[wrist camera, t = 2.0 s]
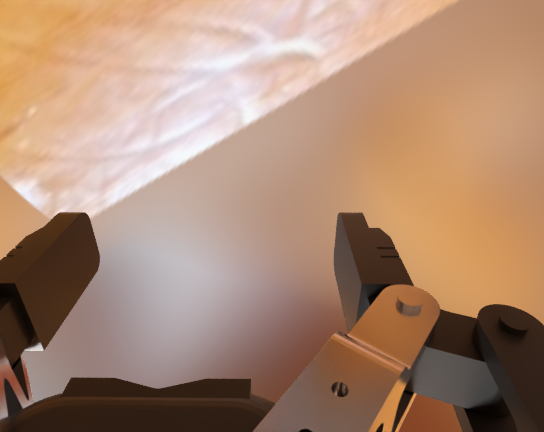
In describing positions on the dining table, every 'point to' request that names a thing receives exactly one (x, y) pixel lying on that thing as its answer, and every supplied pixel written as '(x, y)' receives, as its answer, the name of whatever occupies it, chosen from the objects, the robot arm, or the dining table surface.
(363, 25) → the dining table surface
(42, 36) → the dining table surface
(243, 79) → the dining table surface
